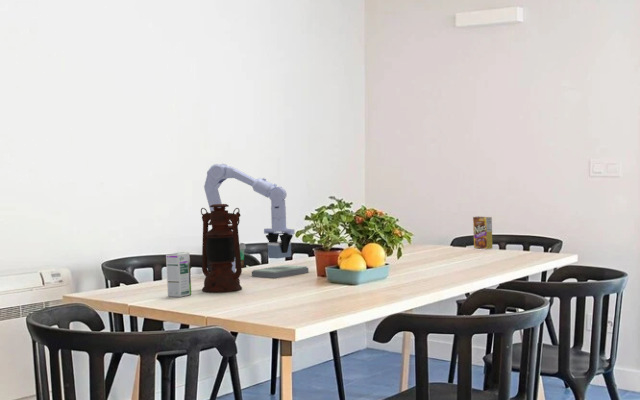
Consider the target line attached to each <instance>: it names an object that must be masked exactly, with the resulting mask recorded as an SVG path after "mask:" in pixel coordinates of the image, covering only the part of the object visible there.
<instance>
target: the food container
mask: <svg viewBox="0 0 640 400" xmlns="http://www.w3.org/2000/svg"><path fill="white" fill-rule="evenodd" d="M239 245H240V256H241V267H242V269H243V268H244V266H245V265H244V263H245V250H246V249H247V246H246V244H245V243H243V242H239ZM235 270H236V262H235Z"/></svg>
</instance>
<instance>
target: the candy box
mask: <svg viewBox="0 0 640 400" xmlns="http://www.w3.org/2000/svg"><path fill="white" fill-rule="evenodd" d="M472 221H473V223H472V225H473V248H474V249H485V250H491V249H493V222H492V221H493V217H491V216H472Z"/></svg>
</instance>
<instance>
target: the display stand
mask: <svg viewBox="0 0 640 400" xmlns="http://www.w3.org/2000/svg"><path fill="white" fill-rule="evenodd" d="M309 272H310V271H309V267H308V266H305V265H295V264H294V265H290V264H284V265H278V266H271V267H265V268H264V267H263V268H259V269H252V271H251V277H252V276H253V277H252V278H264V279H265V278H267V279H279V278H284V277H289V276H290V277H291V276H295V275H303V274H308V273H309Z"/></svg>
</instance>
